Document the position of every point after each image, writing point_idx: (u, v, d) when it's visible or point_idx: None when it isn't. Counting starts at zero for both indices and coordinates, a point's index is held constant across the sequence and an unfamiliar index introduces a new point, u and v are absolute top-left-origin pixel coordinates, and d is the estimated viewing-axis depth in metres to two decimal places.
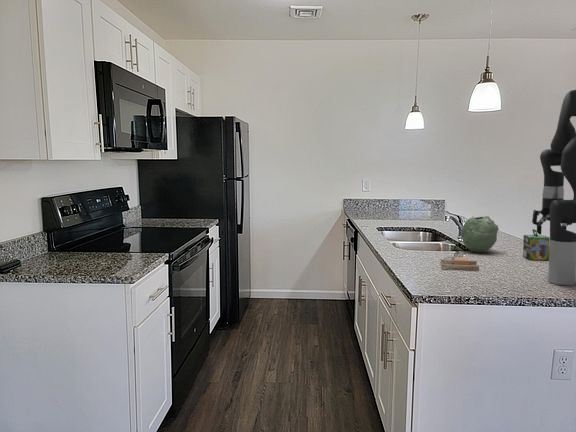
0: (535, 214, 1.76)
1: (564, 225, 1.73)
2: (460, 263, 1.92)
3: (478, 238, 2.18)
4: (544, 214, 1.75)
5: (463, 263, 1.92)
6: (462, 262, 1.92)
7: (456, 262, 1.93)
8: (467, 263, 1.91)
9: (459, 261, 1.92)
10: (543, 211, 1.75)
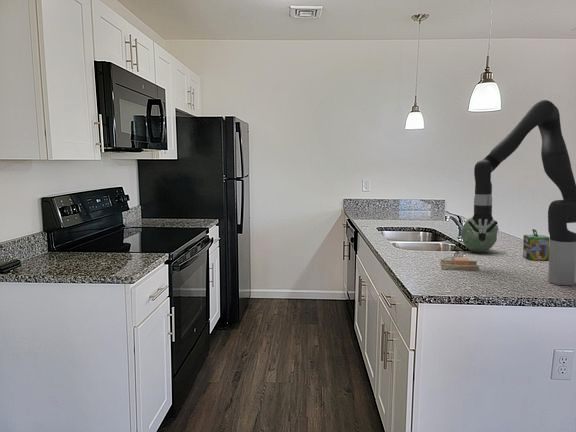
0: (470, 224, 1.91)
1: (483, 232, 1.89)
2: (460, 263, 1.92)
3: (478, 238, 2.18)
4: (476, 222, 1.90)
5: (463, 263, 1.92)
6: (462, 262, 1.92)
7: (456, 263, 1.93)
8: (467, 263, 1.91)
9: (459, 261, 1.92)
10: (474, 218, 1.90)
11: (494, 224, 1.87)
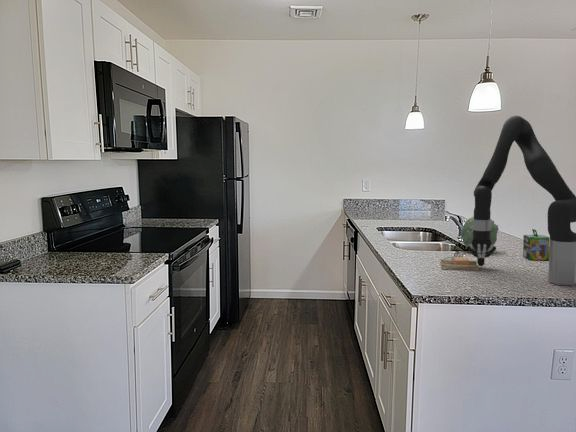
0: (469, 249, 1.92)
1: (482, 257, 1.90)
2: (461, 263, 1.92)
3: None
4: (475, 247, 1.91)
5: (464, 263, 1.92)
6: (463, 262, 1.92)
7: (457, 263, 1.93)
8: (467, 263, 1.91)
9: (460, 261, 1.92)
10: (472, 243, 1.91)
11: (493, 249, 1.89)
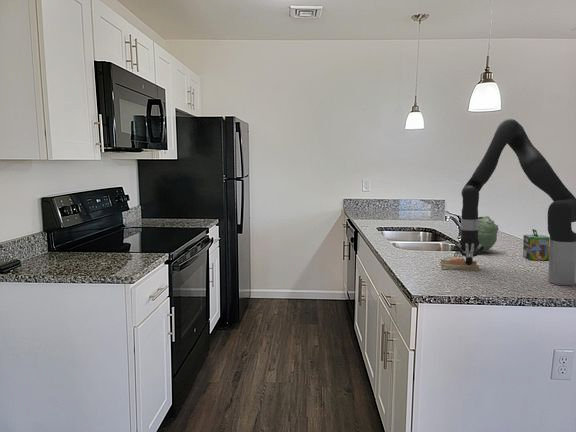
0: (457, 248, 1.94)
1: (470, 256, 1.92)
2: (456, 263, 1.93)
3: (478, 238, 2.18)
4: (463, 246, 1.93)
5: (459, 263, 1.93)
6: (458, 262, 1.93)
7: (452, 262, 1.94)
8: (463, 263, 1.92)
9: (455, 261, 1.94)
10: (461, 242, 1.93)
11: (481, 248, 1.90)
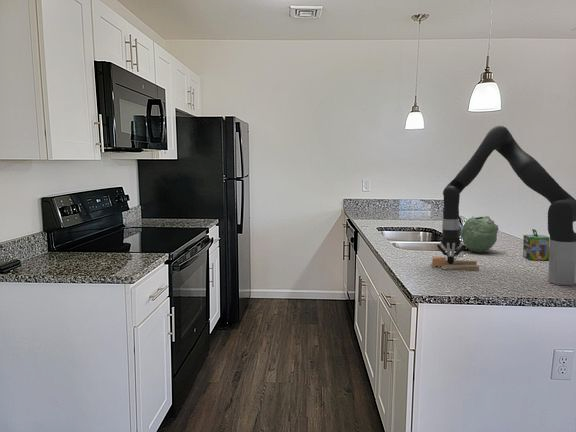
0: (439, 247, 1.96)
1: (451, 256, 1.95)
2: (437, 262, 1.96)
3: (478, 238, 2.18)
4: (445, 246, 1.96)
5: (440, 262, 1.96)
6: (439, 261, 1.96)
7: (433, 261, 1.97)
8: (444, 262, 1.95)
9: (436, 260, 1.96)
10: (442, 241, 1.96)
11: (462, 248, 1.93)
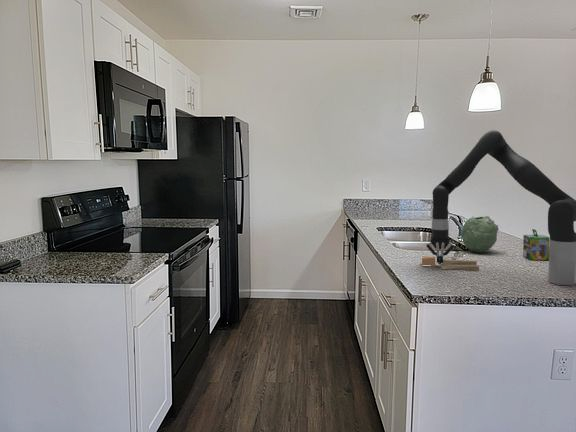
0: (428, 247, 1.98)
1: (441, 255, 1.97)
2: (427, 261, 1.98)
3: (478, 238, 2.18)
4: (434, 246, 1.97)
5: (430, 261, 1.97)
6: (429, 260, 1.97)
7: (423, 261, 1.98)
8: (433, 261, 1.97)
9: (426, 259, 1.98)
10: (431, 241, 1.97)
11: (451, 248, 1.95)
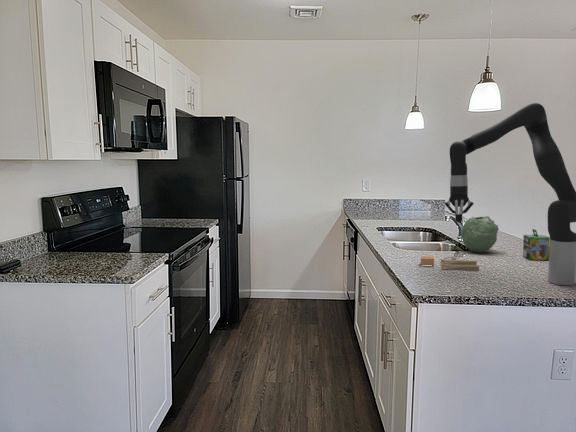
0: (447, 205, 1.92)
1: (460, 213, 1.91)
2: (426, 261, 1.98)
3: (478, 238, 2.18)
4: (453, 203, 1.92)
5: (429, 261, 1.98)
6: (428, 260, 1.98)
7: (422, 261, 1.98)
8: (432, 261, 1.97)
9: (425, 259, 1.98)
10: (450, 199, 1.92)
11: (470, 205, 1.89)
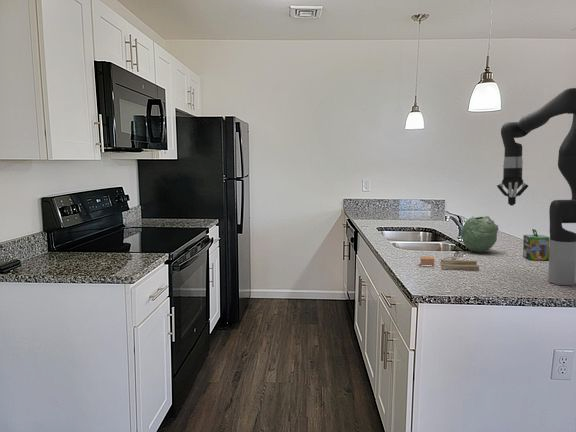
0: (500, 188, 1.87)
1: (513, 196, 1.86)
2: (426, 261, 1.98)
3: (478, 238, 2.18)
4: (506, 186, 1.86)
5: (429, 261, 1.98)
6: (428, 260, 1.98)
7: (422, 261, 1.98)
8: (433, 261, 1.97)
9: (425, 259, 1.98)
10: (503, 181, 1.87)
11: (525, 187, 1.84)
